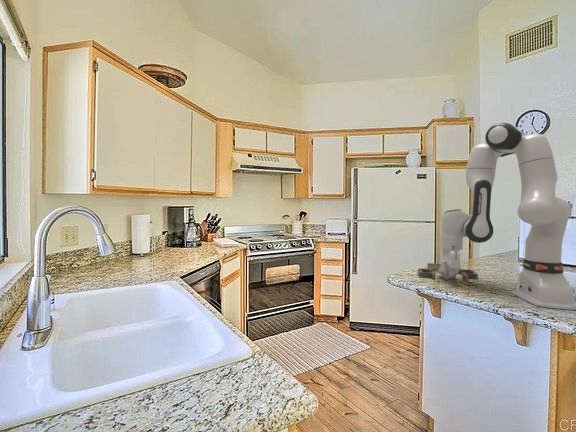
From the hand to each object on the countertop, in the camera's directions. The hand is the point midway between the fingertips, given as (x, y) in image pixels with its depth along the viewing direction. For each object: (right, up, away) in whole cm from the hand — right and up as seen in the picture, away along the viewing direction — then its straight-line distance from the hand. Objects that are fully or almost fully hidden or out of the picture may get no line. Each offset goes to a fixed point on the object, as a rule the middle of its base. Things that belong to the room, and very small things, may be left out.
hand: (450, 274), depth 145 cm
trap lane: (+3, -3, +10) cm, 11 cm away
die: (+2, -3, +6) cm, 7 cm away
